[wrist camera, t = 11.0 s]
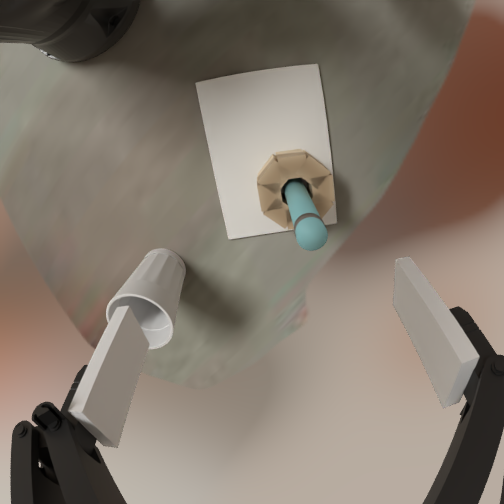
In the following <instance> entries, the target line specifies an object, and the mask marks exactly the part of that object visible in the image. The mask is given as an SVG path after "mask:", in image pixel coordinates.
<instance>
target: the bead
mask: <svg viewBox="0 0 504 504" xmlns="http://www.w3.org/2000/svg"><path fill="white" fill-rule="evenodd" d="M275 153H276V156H275V155H274V154H272V155H271V157H270V158H269V159H268V161H267V162H266V163H265V165H264V166H263V167H262V169H261V170H260V171H259V173H258V177H257V189H258V194H259V200H260V206H261V211H262V212H263V215H265V216H266V217H268V218H269V219H271V220H272V221H274V222H275V223H277V224H278V225H280V226H281V227H283V228H284V229H285V228H286V227H288V230H289V229H294V226H293V222H292V219H291V215H290V211H289V207H288V204H287V200H286V196H285V195H284V194H283V193H282V192H281V190H280V189H281V188H282V187H283V185H284V184H285V183H286V182H287V180H288V179H293V178H300V177H302V178H303V179H304V180H306V181H307V188H306V189H307V191H308V193H309V195H310V197H311V199H312V201H313V203H314V205H315V207H316V209H317V211H318V213H319V215H320V217H321V219H322V218H323V217H324V215H325V214H326V213H327V212H328V211H329V209H330V208H331V207H332V206H333V205H334V204H333V202H332V201H335V197H334V186H333V175H332V174H331V172H330V171H329V170H328V169H327V168H326V167H325V166H324V165H323V164H322V163H321V162H320V161H318V160H317V159H316V158H314V157H313V156H312V155H310V154H309V153H308V152H306V151H305V150H303V151H302V150H301V149H295V150H287V151H280V152H275Z"/></svg>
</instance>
